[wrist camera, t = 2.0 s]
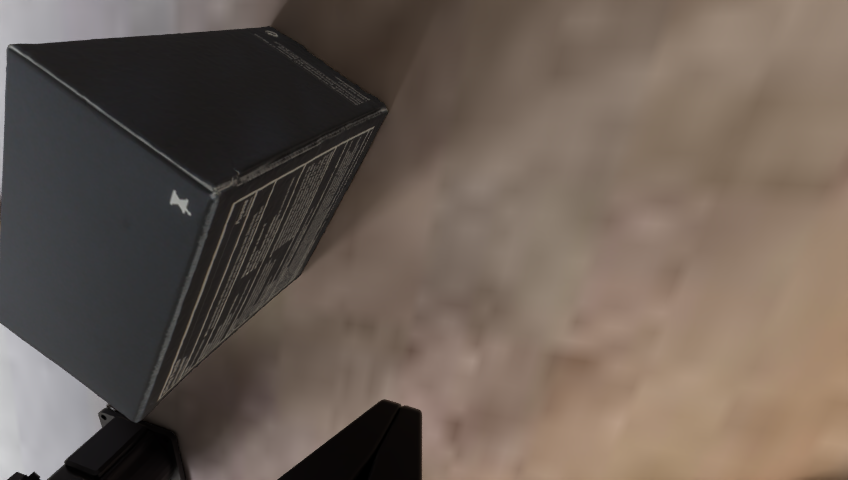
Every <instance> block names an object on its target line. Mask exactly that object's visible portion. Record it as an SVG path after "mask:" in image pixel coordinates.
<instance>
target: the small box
mask: <svg viewBox="0 0 848 480" xmlns="http://www.w3.org/2000/svg"><path fill="white" fill-rule="evenodd" d="M387 114H388V110H387V108H386V106H385V104H384V103H383V102H380V101H379V99H378V98H376V97H375V96H373V95H371V94H369V93H366V92H364V91H363V90H362V89H360V87H359V86H358V85H357V84H353V83H352V82H350V81H349V80H347V79H346V78H345V77H343V76H342V75H340V74H339V73H338V72H336V71H334V70H333V69H332V68H330V67H329V66H327V65H326V64H325V63H324V62H323V61H322V60H319V59H318V58H316V57H315V56H313V55H312V54H311V53H309V52H308V51H307V50H306V49H305V47H304V46H302V45H300V44H299V43H297V42H295V41H294V40H292V39H291V38H289V37H287V36H285V35H283V34H281V33H280V32H278V31H277V30H276V29H274V28H273V27H270V26H268V27H261V28H247V29H234V30H222V31H208V32H194V33H183V34H180V33H178V34H165V35H151V36H136V37H123V38H107V39H91V40H81V41H68V42H55V43H43V44H10V45H8V47H7V67H6V90H5V125H4V151H3V176H2V203H1V227H0V323H1V324H2V325H4V326H5V327H7V328H8V329H9V330H10V331H12V332H13V333H14V334H16V335H17V336H18V337H20V338H21V339H22V340H24V341H25V342H27V343H28V344H29V345H31V346H32V347H34V348H35V349H36V350H38V351H39V352H40V353H42V354H43V355H44V356H46V357H47V358H49V359H50V360H52V361H53V362H54V363H56V364H57V365H59V366H60V367H61V368H63V369H64V370H65V371H67V372H68V373H69V374H71V375H72V376H73V377H75V378H76V379H77V380H79V381H80V382H81V383H82V384H84V385H85V386H86V387H88V388H89V389H90V390H92V391H93V392H94V393H95V394H97V395H98V396H99V397H101V398H102V399H103V400H105V401H106V402H107V403H109V404H110V405H111V406H112V407H114V408H115V409H117V410H118V411H119V412H121V413H122V414H123V415H125V416H126V417H127V418H128V419H130V420H131V421H133V422H135V423H137V422H139V421H141V420H142V419H143V418H144V417H146V416H147V415H148V414H149V413H150V412H151V411H152V410H153V409H154V408H155V407H156V406H157V405H158V404H159V402H160V401H161V400H162V399H163V398H164V397H166V395H167V394H169V393H170V392H171V391H172V389H173V388H174V387H176V386H177V385H178V383H179V382H180V381H182V380H183V379H184V378H185V377H186V376H187V375H188V374H189V373H190V372H191V371H192V370H193V369H194V368H195V367H197V366H198V365H199V364H200V363H201V362H202V361H203V360H204V359H205V358H207V357H208V356H209V355H210V354H211V353H212V352H213V351H214V350H215V349H217V348H218V347H219V346H220V345H221V344H222V343H223V342H224V341H225V340H227V339H228V338H229V337H230V336H231V335H232V334H233V333H235V332H236V331H237V330H238V329H239V328H240V327H241V326H242V325H243V324H244V323H245V322H247V321H248V320H249V319H250V318H251V317H252V316H254V315H255V314H256V313H257V312H258V311H259V310H260V309H261V308H262V307H264V306H265V305H266V304H267V303H268V302H269V301H270V300H272V299H273V298H274V297H275V296H277V295H278V294H279V293H280V292H281V291H282V290H283V289H285V288H286V287H287V286H288V285H289V284H291V283H292V282H293V281H294V280H296V279H297V278H298V277H299V276H300V275H301V273H302V271H303V269H304V267H305V266H306V264H307V262H308V260H309V259H310V257H311V255H312V253H313V251H314V250H315V247H316V246H317V244H318V242H319V240H320V238H321V236H322V235H323V233H324V232H325V229H326V227H327V225H328V223H329V222H330V220H331V218H332V216H333V214H334V212H335V210H336V208H337V207H338V205H339V203H340V201H341V200H342V197H343V195H344V194H345V192H346V191H347V189H348V187H349V185H350V183H351V181H352V180H353V177H354V175H355V173H356V171H357V170H358V168H359V166H360V164H361V163H362V160H363V158H364V157H365V155H366V153H367V151H368V149H369V147H370V145H371V143H372V141H373V139H374V137H375V135H376V133H377V132H378V130H379V128H380V126H381V124H382V122H383V120H384V118H385V117H386V115H387Z"/></svg>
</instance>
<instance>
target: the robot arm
mask: <svg viewBox="0 0 848 480" xmlns="http://www.w3.org/2000/svg"><path fill="white" fill-rule="evenodd" d="M98 416H99V419H100V422H101V425H102V428H101V429H100V430H99V431H98V432H97V433H96V434H95V435H93V436H92V437H91V438H90V439H89V440H88V441H87V442H85V443H84V444H83V445H82V446H81V447H80V448H78V449H77V450H76V451H75V452H74V453H73V454H72V455H70V456H69V457H68V458H67V459H66V460H65V462H64V463H65V464H64V465H63V466H62V467H61V468H60V469H59V470H57V471H56V472H55V473H54V474H53V475H52V476H51V477H49V478H48V479H47V480H185V475H184V471H183V466H182V462H181V457H180V453H179V448H178V443H177V439H176V436H175V435H174V433H172V432H171V431H169V430H166V429H163V428H160V427H158V426H155V425H152V424H149V423H146V422H143V421H139V422H137V423H135V422H133V421H131V420H130V419H128V418H127V417H126V416H125V415H123V414H121V413H118V412H115V411H113V410H110V409H107V408H104V409H103V410H101V411H100V412H99V413H98ZM39 478H40V476H39V475H38V474H36V473H35V472H33V473H32V474H31V475H30V476H27V475H24V474H21V473H18V472H16V473H15V474H14V475H12V476H11V477H10V478H9V479H8V480H40V479H39ZM278 480H422V412H421V411H420V410H419V409H416V408H412V407H409V406H401V404H399V403H396V402H393V401H389V400H385V399H384V400H381V401H379V402H378V403H377V404H376V405H374V406H373V407H372V408H370V409H369V410H368V411H366V412H365V413H364V414H362V415H361V416H360V417H359V418H357V419H356V420H355V421H353V422H352V423H351V424H349V425H348V426H347V427H345V428H344V429H343V430H342V431H340V432H339V433H338V434H336V435H335V436H334V437H332V438H331V439H330V440H328V441H327V442H326V443H325V444H323V445H322V446H321V447H319V448H318V449H317V450H315V451H314V452H313V453H312V454H310V455H309V456H308V457H306V458H305V459H304V460H302V461H301V462H300V463H298V464H297V465H296V466H295V467H293V468H292V469H291V470H289V471H288V472H287V473H285V474H284V475H283V476H281V477H280V478H279V479H278Z"/></svg>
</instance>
